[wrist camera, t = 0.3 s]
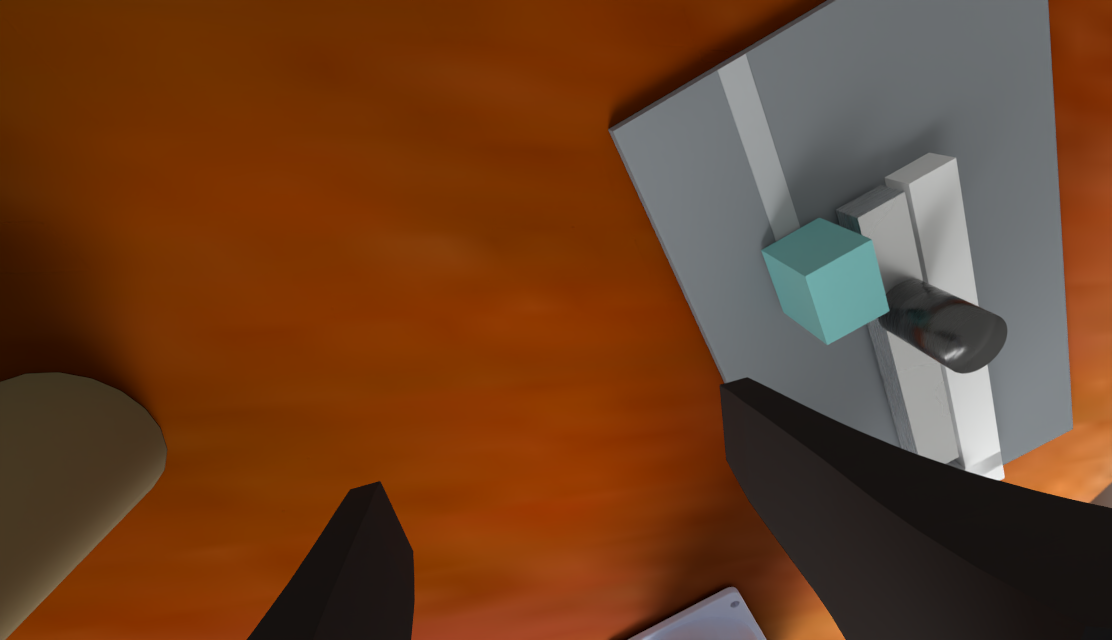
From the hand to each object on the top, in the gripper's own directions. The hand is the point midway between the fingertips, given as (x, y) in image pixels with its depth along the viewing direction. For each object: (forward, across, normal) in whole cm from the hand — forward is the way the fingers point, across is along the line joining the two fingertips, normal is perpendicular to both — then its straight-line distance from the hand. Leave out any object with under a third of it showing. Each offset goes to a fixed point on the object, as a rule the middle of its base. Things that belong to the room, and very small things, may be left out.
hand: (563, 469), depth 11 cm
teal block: (+10, -11, +2) cm, 15 cm away
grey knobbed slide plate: (+10, -15, +5) cm, 19 cm away
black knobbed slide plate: (+9, -15, +6) cm, 18 cm away
